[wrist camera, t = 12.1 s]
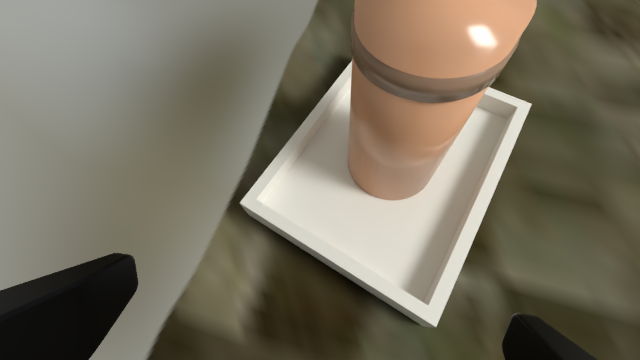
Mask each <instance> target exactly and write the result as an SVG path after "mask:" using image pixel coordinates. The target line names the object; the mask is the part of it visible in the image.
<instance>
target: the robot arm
mask: <svg viewBox="0 0 640 360" xmlns="http://www.w3.org/2000/svg"><path fill="white" fill-rule="evenodd" d="M137 286H138V278H137V272H136V265H135V260H134V258H133V257H132V256H131V255H128V254H121V253H113V254H110V255H107V256H104V257H101V258H98V259H95V260H92V261H89V262H86V263H83V264H80V265H77V266H74V267H71V268H67V269H64V270H62V271H59V272H55V273H52V274H49V275H46V276H43V277H40V278H37V279H34V280H31V281H28V282H25V283H22V284H19V285H16V286H13V287H10V288H7V289H4V290H1V291H0V360H89V358H90V357H91V356H92V354H93V353H94V352H95V351H96V349H97V348H98V346H99V345H100V344H101V342H102V340H103V339H104V338H105V336H106V335H107V333H108V332H109V330H110V329H111V327H112V326H113V324H114V323H115V322H116V320H117V319H118V317H119V316H120V314H121V313H122V311H123V310H124V308H125V307H126V305H127V304H128V302H129V301H130V299H131V298H132V296H133V295H134V293H135V292H136V290H137ZM502 349H503V354H504V357H505V360H597V359H596V358H595V357H593V356H592V355H590V354H589V353H588V352H586V351H585V350H583V349H582V348H581V347H579V346H578V345H576V344H575V343H573V342H572V341H571V340H569V339H568V338H566V337H565V336H564V335H562V334H561V333H559V332H558V331H557V330H555V329H554V328H552V327H551V326H550V325H548V324H547V323H545V322H544V321H543V320H541V319H540V318H538V317H537V316H534V315H528V314H521V313H516V314H514V315H513V316H512V317H511V319H510V322H509V325H508V328H507V330H506V333H505V336H504V338H503V343H502Z"/></svg>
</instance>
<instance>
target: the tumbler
mask: <svg viewBox="0 0 640 360" xmlns="http://www.w3.org/2000/svg"><path fill="white" fill-rule="evenodd" d="M536 2H537V0H355V7H354V9H353V14H352V27H351V52H352V75H351V96H350V117H349V138H348V169H349V172H350V175H351V177H352V178H353V180H354V182H355V183H356V184H357V185H358V186H359V187H360V188H361V189H362V190H363V191H365V192H366V193H368V194H370V195H372V196H374V197H377V198H380V199H384V200H402V199H407V198H409V197H412V196H414V195H416V194H418V193H419V192H420V191H422V190H423V189H424V188H425V187H426V185H427V184H428V183H429V181H430V179H431V178H432V176H433V175H434V173H435V171H436V170H437V168H438V167H439V165H440V163H441V162H442V160H443V159H444V157H445V156H446V154H447V152H448V151H449V149H450V148H451V146H452V144H453V143H454V141H455V140H456V138H457V136H458V135H459V133H460V132H461V130H462V128H463V127H464V125H465V124H466V122H467V120H468V119H469V117H470V116H471V114H472V113H473V111H474V109H475V108H476V106H477V105H478V103H479V101H480V100H481V98H482V97H483V95H484V93H485V92H486V90H487V89H488V87H489V85H490V84H492V83H493V82H494V81H495V79H496V78H497V77H498V76H499V74H500V73H501V71H502V70H503V68H504V67H505V65H506V63H507V62H508V60H509V59H510V57H511V56H512V54H513V52H514V51H515V49H516V47H517V45H518V43H519V40H520V36H521V35H522V33H523V31H524V30H525V28H526V27H527V25H528V23H529V22H530V20H531V18H532V16H533V14H534V12H535V9H536Z"/></svg>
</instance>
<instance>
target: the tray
mask: <svg viewBox="0 0 640 360" xmlns="http://www.w3.org/2000/svg"><path fill="white" fill-rule="evenodd" d="M351 75H352V61H351V62H350V64H349V65H348V66H347V67H346V69H345V70H344V71H343V72H342V74H341V75H340V76H339V78H338V79H337V80H336V81H335V83H334V84H333V85H332V86H331V88H330V89H329V90H328V91H327V93H326V94H325V95H324V97H323V98H322V99H321V100H320V102H319V103H318V104H317V105H316V107H315V108H314V109H313V110H312V112H311V113H310V114H309V116H308V117H307V118H306V119H305V121H304V122H303V123H302V124H301V126H300V127H299V128H298V129H297V131H296V132H295V133H294V135H293V136H292V137H291V138H290V140H289V141H288V142H287V143H286V145H285V146H284V147H283V148H282V150H281V151H280V152H279V154H278V155H277V156H276V157H275V159H274V160H273V161H272V162H271V164H270V165H269V166H268V167H267V169H266V170H265V171H264V173H263V174H262V175H261V176H260V178H259V179H258V180H257V181H256V183H255V184H254V185H253V186H252V188H251V189H250V190H249V192H248V193H247V194H246V195H245V197H244V198H243V199H242V200H241V202H240V204H241V205H242V207H243V208H244V209H245V211H246V212H247V213H248V215H250V216H251V217H253V218H254V219H256V220H257V221H259V222H261V223H262V224H264V225H265V226H267V227H268V228H270V229H271V230H273V231H275V232H276V233H278V234H279V235H281V236H282V237H284V238H286V239H287V240H289V241H290V242H292V243H293V244H295V245H296V246H298V247H300V248H301V249H303V250H304V251H306V252H307V253H309V254H311V255H312V256H314V257H315V258H317V259H318V260H320V261H321V262H323V263H325V264H326V265H328V266H329V267H331V268H332V269H334V270H336V271H337V272H339V273H340V274H342V275H343V276H345V277H347V278H348V279H350V280H351V281H353V282H354V283H356V284H357V285H359V286H361V287H362V288H364V289H365V290H367V291H368V292H370V293H372V294H373V295H375V296H376V297H378V298H379V299H381V300H382V301H384V302H386V303H387V304H389V305H390V306H392V307H393V308H395V309H397V310H398V311H400V312H401V313H403V314H404V315H406V316H407V317H409V318H411V319H412V320H414V321H415V322H417V323H418V324H420V325H422V326H423V327H436V326H437V324H438V322H439V319H440V317H441V315H442V312H443V310H444V308H445V305H446V303H447V301H448V298H449V296H450V294H451V291H452V289H453V287H454V284H455V282H456V280H457V277H458V275H459V273H460V270H461V268H462V266H463V263H464V261H465V259H466V256H467V254H468V252H469V249H470V247H471V245H472V242H473V240H474V238H475V235H476V233H477V231H478V228H479V226H480V224H481V221H482V219H483V217H484V214H485V212H486V210H487V207H488V205H489V203H490V200H491V198H492V196H493V193H494V191H495V189H496V186H497V184H498V182H499V179H500V177H501V175H502V172H503V170H504V168H505V165H506V163H507V161H508V158H509V156H510V154H511V151H512V149H513V147H514V144H515V142H516V140H517V137H518V135H519V133H520V130H521V128H522V126H523V123H524V121H525V118H526V116H527V114H528V111H529V109H530V107H531V104H530V103H528V102H525V101H523V100H520V99H517V98H515V97H512V96H510V95H507V94H505V93H502V92H500V91H497V90H494V89H492V88H489V87H488V89H487V90H486V92H485V93H484V95H483V97H482V98H481V100H480V101H479V103H478V105H477V106H476V108H475V109H474V111H473V113H472V114H471V116H470V117H469V119H468V120H467V122H466V124H465V125H464V127H463V128H462V130H461V132H460V133H459V135H458V136H457V138H456V140H455V141H454V143H453V144H452V146H451V148H450V149H449V151H448V152H447V154H446V156H445V157H444V159H443V160H442V162H441V163H440V165H439V167H438V168H437V170H436V171H435V173H434V175H433V176H432V178H431V179H430V181H429V183H428V184H427V185H426V187H425V188H424V189H423V190H422V191H420V192H419V193H418V194H416V195H414V196H412V197H409V198H407V199H402V200H384V199H380V198H377V197H374V196H372V195H370V194H368V193H366V192H365V191H363V190H362V189H361V188H360V187H359V186H358V185H357V184H356V183H355V182H354V180H353V178H352V177H351V175H350V172H349V169H348V138H349V117H350V96H351Z"/></svg>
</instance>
